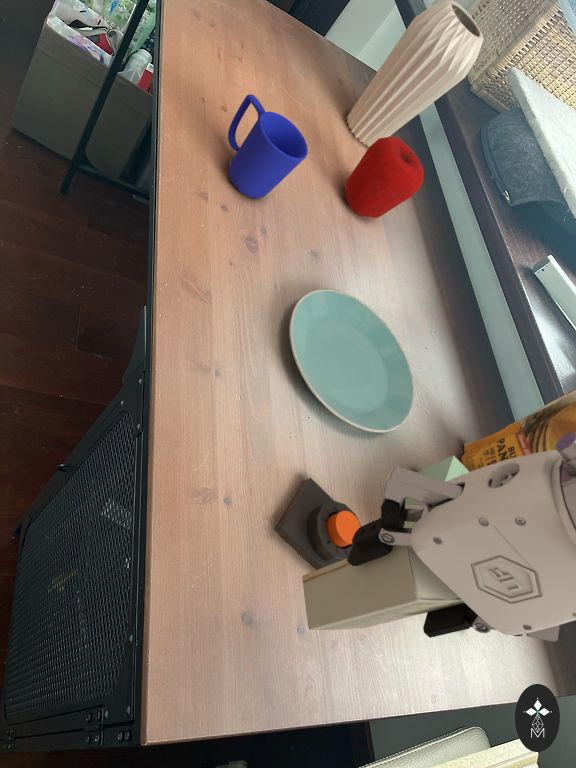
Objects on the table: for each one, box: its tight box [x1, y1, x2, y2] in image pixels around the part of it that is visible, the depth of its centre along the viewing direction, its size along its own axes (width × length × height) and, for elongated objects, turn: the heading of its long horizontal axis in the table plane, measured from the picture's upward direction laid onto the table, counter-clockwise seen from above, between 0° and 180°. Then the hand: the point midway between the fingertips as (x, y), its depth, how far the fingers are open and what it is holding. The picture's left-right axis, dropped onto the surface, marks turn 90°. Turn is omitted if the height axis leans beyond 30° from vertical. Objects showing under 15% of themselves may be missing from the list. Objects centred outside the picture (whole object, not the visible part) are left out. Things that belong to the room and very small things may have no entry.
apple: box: [345, 136, 425, 219], centre depth 104 cm, size 11×10×14 cm
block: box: [275, 477, 362, 571], centre depth 70 cm, size 11×8×3 cm
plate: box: [288, 288, 416, 434], centre depth 85 cm, size 22×22×3 cm
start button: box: [326, 511, 361, 547], centre depth 68 cm, size 4×4×2 cm
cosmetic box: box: [302, 545, 465, 631], centre depth 46 cm, size 6×4×12 cm
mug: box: [227, 93, 309, 199], centre depth 88 cm, size 8×12×10 cm
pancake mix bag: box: [460, 388, 576, 472], centre depth 83 cm, size 7×19×28 cm, turn 8°
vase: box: [346, 0, 485, 148], centre depth 113 cm, size 13×13×26 cm
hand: (394, 583), depth 46 cm, fingers closed on cosmetic box, 7 cm apart
